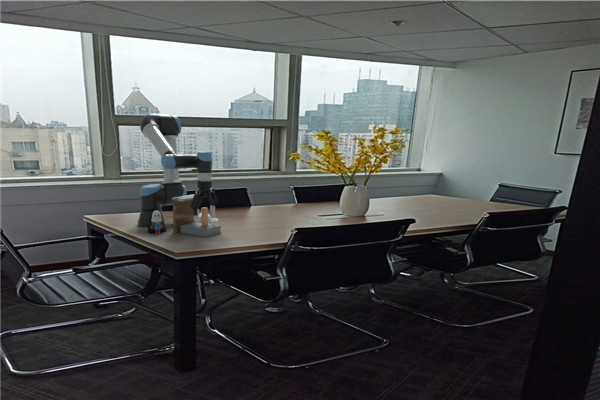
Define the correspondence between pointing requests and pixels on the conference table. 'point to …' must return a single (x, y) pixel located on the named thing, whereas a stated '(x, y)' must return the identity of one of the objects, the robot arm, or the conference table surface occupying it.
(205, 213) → the peg
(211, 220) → the mug
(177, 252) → the conference table surface
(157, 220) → the figurine
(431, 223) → the conference table surface
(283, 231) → the conference table surface
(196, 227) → the socket board
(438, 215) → the conference table surface
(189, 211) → the panel
